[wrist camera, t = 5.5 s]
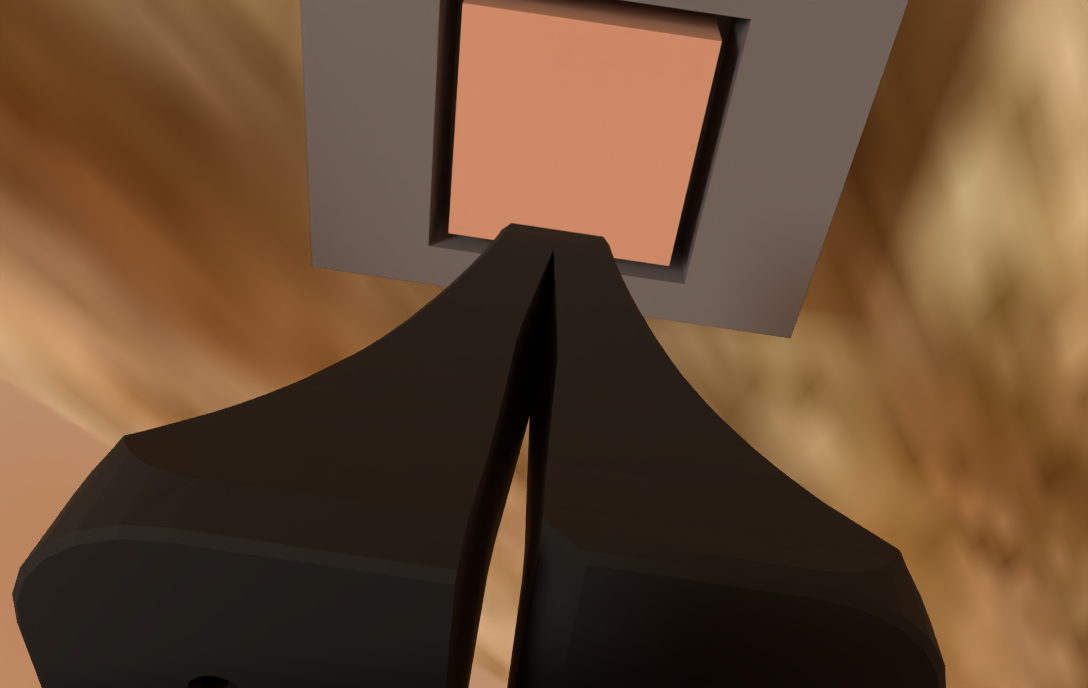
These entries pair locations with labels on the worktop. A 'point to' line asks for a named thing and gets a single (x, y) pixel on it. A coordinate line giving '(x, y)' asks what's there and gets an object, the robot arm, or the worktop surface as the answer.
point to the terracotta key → (580, 119)
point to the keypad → (717, 173)
